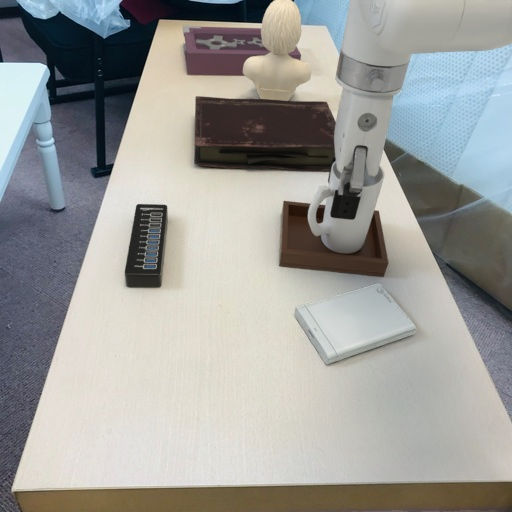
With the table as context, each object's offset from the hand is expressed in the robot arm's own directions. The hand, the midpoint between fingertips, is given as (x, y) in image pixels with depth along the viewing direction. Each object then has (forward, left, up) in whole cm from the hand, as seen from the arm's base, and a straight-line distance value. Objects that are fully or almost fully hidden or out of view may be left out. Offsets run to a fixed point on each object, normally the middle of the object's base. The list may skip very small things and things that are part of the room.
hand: (340, 199), depth 68 cm
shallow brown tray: (0, 0, -8) cm, 8 cm away
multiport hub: (-5, +25, -8) cm, 27 cm away
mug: (0, 0, -8) cm, 8 cm away
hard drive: (-15, -2, -8) cm, 17 cm away
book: (+63, +19, -8) cm, 66 cm away
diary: (+26, +11, -8) cm, 29 cm away
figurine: (+44, +10, -8) cm, 46 cm away
